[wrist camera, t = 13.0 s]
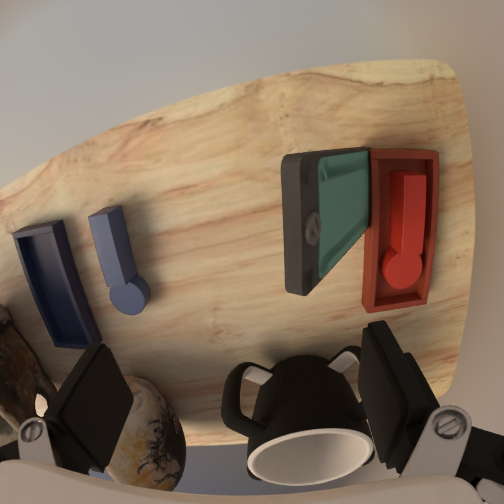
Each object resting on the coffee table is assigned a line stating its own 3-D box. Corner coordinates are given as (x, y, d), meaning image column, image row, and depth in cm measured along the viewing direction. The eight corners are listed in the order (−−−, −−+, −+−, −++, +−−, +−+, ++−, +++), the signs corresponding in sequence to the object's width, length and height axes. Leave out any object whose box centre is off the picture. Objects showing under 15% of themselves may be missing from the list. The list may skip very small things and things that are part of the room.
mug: (240, 420, 38) (234, 494, 26) (225, 331, 32) (211, 420, 21) (356, 411, 37) (374, 481, 26) (376, 321, 31) (415, 400, 20)
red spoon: (380, 170, 25) (394, 175, 22) (418, 170, 24) (435, 175, 21) (378, 282, 29) (388, 297, 26) (412, 278, 28) (425, 292, 25)
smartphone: (303, 155, 13) (373, 147, 24) (278, 155, 13) (360, 147, 25) (305, 305, 15) (372, 227, 27) (284, 300, 16) (359, 226, 27)
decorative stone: (101, 354, 34) (50, 442, 20) (158, 346, 33) (115, 452, 19) (160, 435, 40) (139, 513, 26) (211, 432, 39) (199, 519, 25)
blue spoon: (95, 209, 27) (80, 218, 24) (129, 203, 27) (116, 211, 24) (122, 306, 31) (111, 321, 28) (154, 305, 31) (145, 321, 28)
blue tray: (22, 227, 28) (11, 233, 26) (62, 219, 28) (51, 224, 26) (62, 337, 34) (55, 347, 32) (102, 340, 33) (96, 350, 31)
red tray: (362, 149, 24) (370, 150, 23) (427, 149, 24) (439, 151, 22) (361, 302, 30) (367, 313, 28) (418, 294, 30) (426, 304, 28)
